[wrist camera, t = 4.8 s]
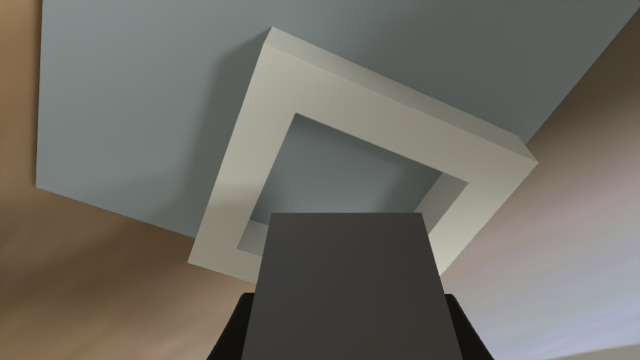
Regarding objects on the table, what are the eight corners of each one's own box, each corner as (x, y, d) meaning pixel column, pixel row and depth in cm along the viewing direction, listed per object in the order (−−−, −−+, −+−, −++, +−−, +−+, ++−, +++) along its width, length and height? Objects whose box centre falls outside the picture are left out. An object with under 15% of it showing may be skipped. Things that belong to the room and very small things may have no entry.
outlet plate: (672, -60, 11) (750, -51, 9) (392, 289, 20) (399, 336, 18) (82, -424, 8) (-7, -538, 6) (47, 176, 17) (4, 216, 15)
